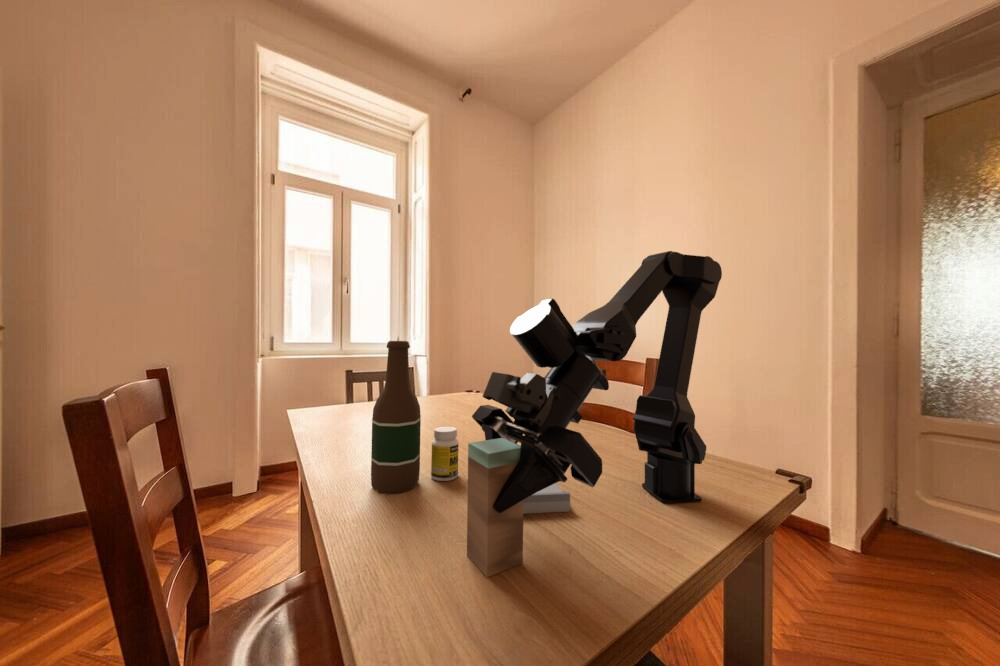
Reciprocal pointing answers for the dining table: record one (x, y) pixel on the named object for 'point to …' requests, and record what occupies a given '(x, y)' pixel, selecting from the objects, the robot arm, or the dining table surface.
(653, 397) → the robot arm
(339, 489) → the dining table surface
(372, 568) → the dining table surface
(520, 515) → the green-topped wooden block
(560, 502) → the tray
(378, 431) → the beer bottle
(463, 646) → the dining table surface
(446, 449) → the supplement bottle
